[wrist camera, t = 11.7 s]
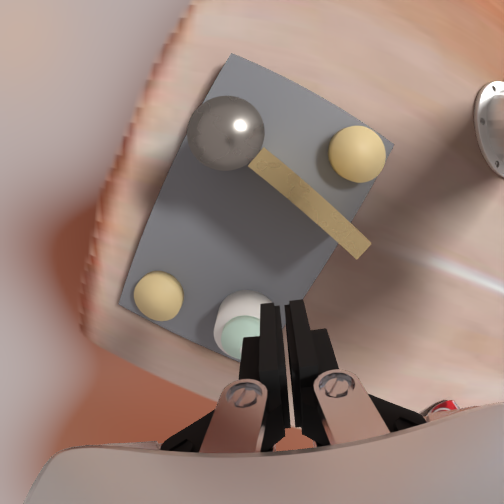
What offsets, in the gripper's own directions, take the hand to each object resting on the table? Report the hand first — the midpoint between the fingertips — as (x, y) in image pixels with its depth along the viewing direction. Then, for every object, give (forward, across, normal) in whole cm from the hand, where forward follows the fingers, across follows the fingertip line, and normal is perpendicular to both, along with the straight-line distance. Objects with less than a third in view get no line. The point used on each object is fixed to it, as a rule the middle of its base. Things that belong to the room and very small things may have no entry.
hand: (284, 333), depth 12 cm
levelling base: (+19, +3, 0) cm, 19 cm away
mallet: (+17, +2, -8) cm, 19 cm away
